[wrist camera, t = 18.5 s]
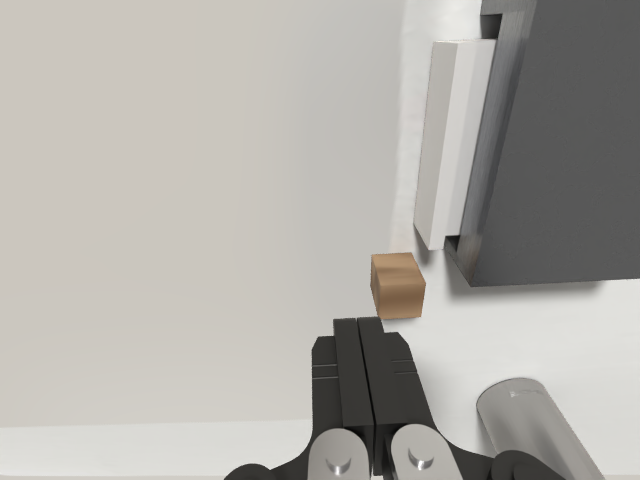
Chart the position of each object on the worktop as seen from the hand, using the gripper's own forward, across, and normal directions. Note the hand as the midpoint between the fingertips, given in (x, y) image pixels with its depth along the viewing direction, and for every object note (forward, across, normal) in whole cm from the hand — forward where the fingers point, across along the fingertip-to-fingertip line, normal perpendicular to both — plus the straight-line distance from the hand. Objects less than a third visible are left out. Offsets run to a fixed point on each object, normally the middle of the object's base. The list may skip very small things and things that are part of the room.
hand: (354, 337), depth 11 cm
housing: (+21, -19, 0) cm, 29 cm away
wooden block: (+21, -6, +13) cm, 25 cm away
